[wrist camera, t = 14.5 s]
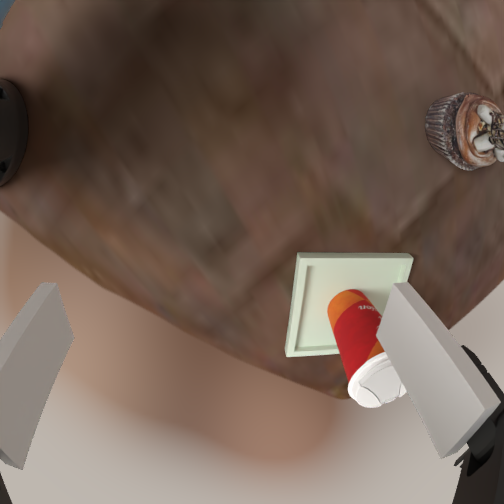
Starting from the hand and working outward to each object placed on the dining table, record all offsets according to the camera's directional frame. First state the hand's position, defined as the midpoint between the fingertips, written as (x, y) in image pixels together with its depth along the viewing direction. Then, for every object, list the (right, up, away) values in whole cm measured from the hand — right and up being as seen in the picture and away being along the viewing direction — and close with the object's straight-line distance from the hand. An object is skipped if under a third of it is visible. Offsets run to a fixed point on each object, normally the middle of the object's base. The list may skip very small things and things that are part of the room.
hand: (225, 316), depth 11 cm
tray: (+14, -5, +31) cm, 35 cm away
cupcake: (+26, +19, +21) cm, 38 cm away
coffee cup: (+14, -5, +31) cm, 34 cm away
